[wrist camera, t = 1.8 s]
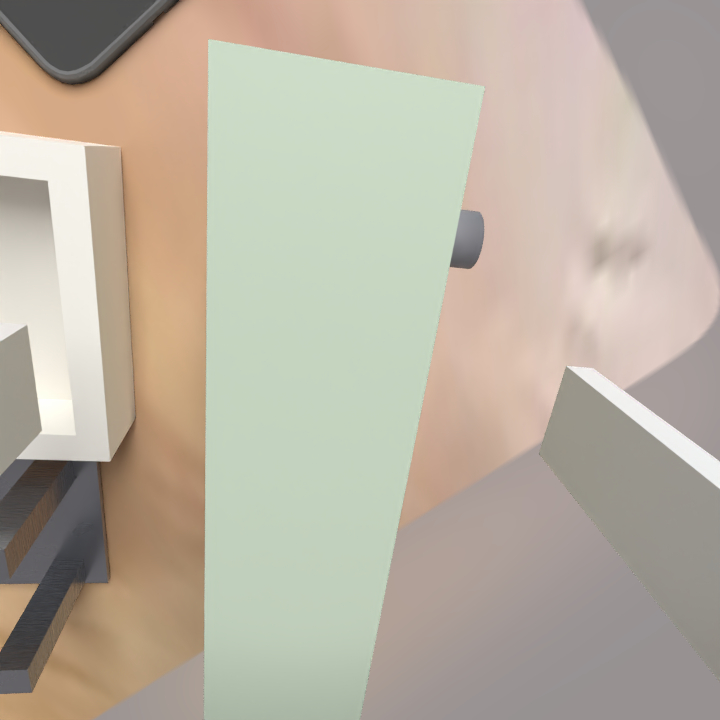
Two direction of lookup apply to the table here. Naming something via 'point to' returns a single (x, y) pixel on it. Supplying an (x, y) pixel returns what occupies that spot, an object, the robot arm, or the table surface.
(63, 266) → the white divided tray
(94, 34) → the smartphone
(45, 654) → the grey four-post stand
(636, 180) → the table surface
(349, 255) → the door panel
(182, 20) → the table surface
